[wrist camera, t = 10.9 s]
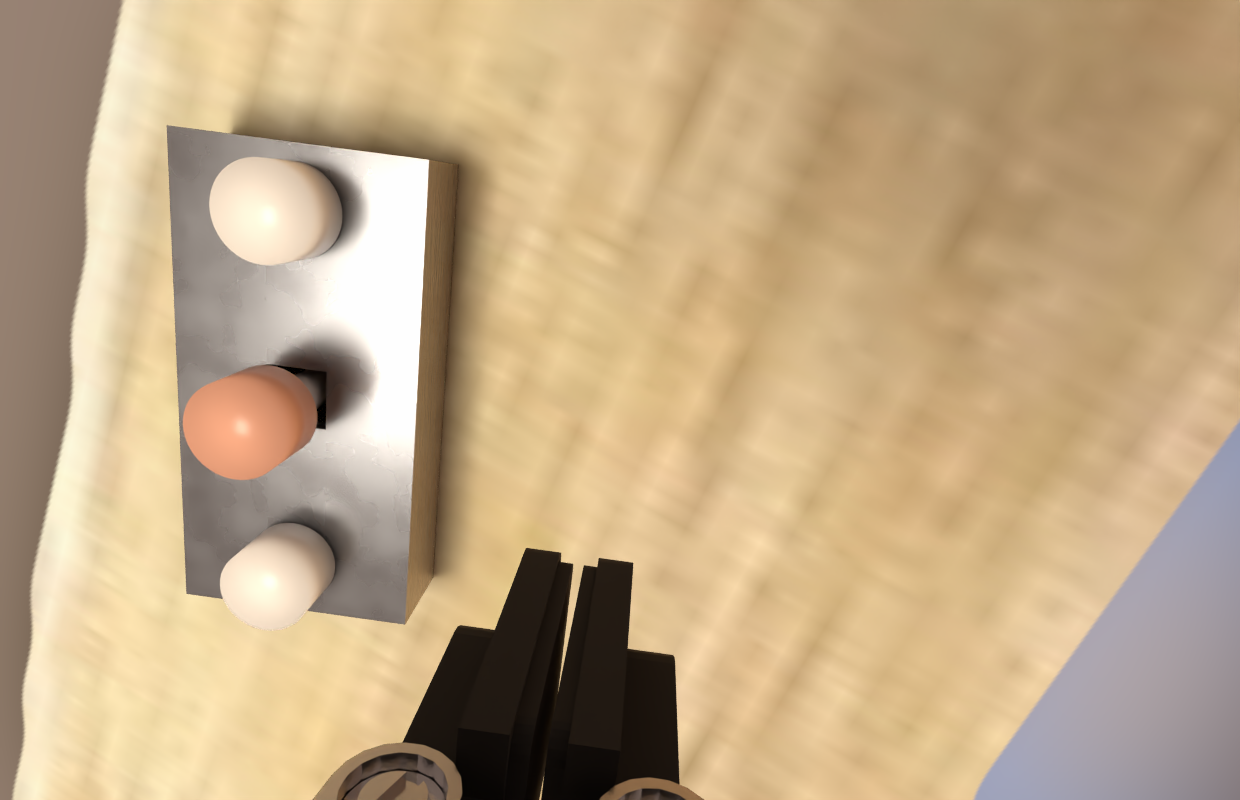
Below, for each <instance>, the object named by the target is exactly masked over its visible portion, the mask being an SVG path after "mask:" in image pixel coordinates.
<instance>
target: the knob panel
mask: <svg viewBox="0 0 1240 800" xmlns="http://www.w3.org/2000/svg"><path fill="white" fill-rule="evenodd" d="M167 143H168V166H169V190H170V214H171V237H172V261H173V284H174V308H175V332H176V355H177V379H178V403H179V426H180V450H181V474H182V497H183V521H184V545H185V568H186V592H187V594H192V595H199V596H207V597H214V598H221V599H223V597H222V594H221V590H220V577H221V573H222V571H223V569H224V567H225V565H226V564H227V563H228V561H229V560H230V559H232V558H233V557H234V556H235V555H236V554H237V553H239V552H240V551H241V550H242V549H243V548H245V547H246V546H247V545H248V544H249V543H250V542H252V541H253V540H254V539H255V538H256V537H258V536H259V535H260V534H261V533H262V532H263V531H265V530H266V529H268V528H269V527H271V526H273V525H277V524H281V523H295V524H300V525H303V526H306V527H308V528H310V529H312V530H314V531H315V532H317V533H318V534H319V535H320V536H321V537H322V538H324V540H325V541H326V542H327V544H328V545H329V547H330V548H331V550H332V553H333V556H334V560H335V573H334V577H333V579H332V581H331V583H330V584H329V586H328V587H327V588H326V589H325V590H324V592H323V593H322V594H321V595H320V596H319V597H318V599H317V600H316V601H315V602H314V603H313V604H312V606H311V607H310V608H309V609H308V610H307V611H313V612H320V613H327V614H334V615H341V616H348V617H355V618H362V619H369V620H377V621H384V622H391V623H398V624H406V622H407V620H408V619H409V617H410V615H411V614H412V612H413V610H414V609H415V607H416V605H417V604H418V602H419V600H420V599H421V597H422V595H423V593H424V592H425V590H426V588H427V587H428V585H429V583H430V582H431V580H432V578H433V567H434V551H435V534H436V518H437V502H438V486H439V470H440V454H441V438H442V422H443V406H444V390H445V374H446V358H447V342H448V326H449V310H450V294H451V278H452V262H453V245H454V229H455V213H456V197H457V181H458V165H457V164H451V163H445V162H439V161H433V160H426V159H419V158H411V157H404V156H396V155H388V154H381V153H373V152H366V151H358V150H350V149H343V148H335V147H328V146H320V145H312V144H305V143H297V142H290V141H282V140H274V139H267V138H259V137H252V136H244V135H236V134H229V133H221V132H214V131H206V130H198V129H191V128H183V127H175V126H168V125H167ZM246 157H262V158H272V159H282V160H292V161H299V162H303V163H306V164H308V165H310V166H312V167H314V168H316V169H317V170H319V171H320V172H321V173H323V174H324V175H325V176H326V177H327V178H328V179H329V181H330V182H331V183H332V185H333V186H334V188H335V190H336V191H337V194H338V196H339V199H340V202H341V206H342V226H341V230H340V233H339V235H338V237H337V239H336V241H335V242H334V244H333V245H332V246H331V247H330V248H329V249H328V250H327V251H326V252H324V253H323V254H321V255H319V256H317V257H314V258H310V259H305V260H299V261H294V262H288V263H282V264H276V265H260V264H255V263H252V262H249V261H246V260H244V259H242V258H241V257H239V256H237V255H236V254H235V253H233V252H232V251H231V250H230V249H229V248H228V247H227V246H226V245H225V244H224V243H223V241H222V240H221V239H220V237H219V235H218V234H217V232H216V230H215V228H214V225H213V223H212V220H211V215H210V208H209V199H210V193H211V189H212V186H213V183H214V181H215V179H216V178H217V176H218V174H219V173H220V172H221V171H222V170H223V169H224V168H225V167H226V166H227V165H229V164H230V163H232V162H234V161H236V160H239V159H242V158H246ZM256 365H271V366H276V367H277V365H280V366H287V367H295V368H302V369H309V370H317V371H324V372H327V388H326V422H318V421H317V425H316V430H315V432H314V435H313V436H312V438H311V440H310V441H309V442H308V444H306V445H305V446H304V447H303V448H302V449H300V450H299V451H298V452H296V453H295V454H293V455H292V456H290V457H289V458H288V459H286V460H285V461H283V462H282V463H280V464H279V465H278V466H276V467H275V468H273V469H272V470H271V471H269V472H268V473H266V474H264V475H262V476H260V477H258V478H254V479H249V480H235V479H230V478H226V477H223V476H221V475H218V474H216V473H214V472H213V471H211V470H209V469H208V468H207V467H205V466H204V465H203V464H202V463H201V462H200V461H199V460H198V459H197V458H196V457H195V455H194V454H193V452H192V451H191V449H190V447H189V446H188V444H187V441H186V438H185V435H184V430H183V415H184V411H185V407H186V405H187V403H188V401H189V399H190V398H191V397H192V395H193V394H194V393H195V392H196V391H198V390H199V389H200V388H202V387H204V386H205V385H207V384H210V383H212V382H215V381H217V380H219V379H222V378H224V377H227V376H229V375H232V374H234V373H236V372H239V371H241V370H244V369H246V368H249V367H252V366H256Z"/></svg>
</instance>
